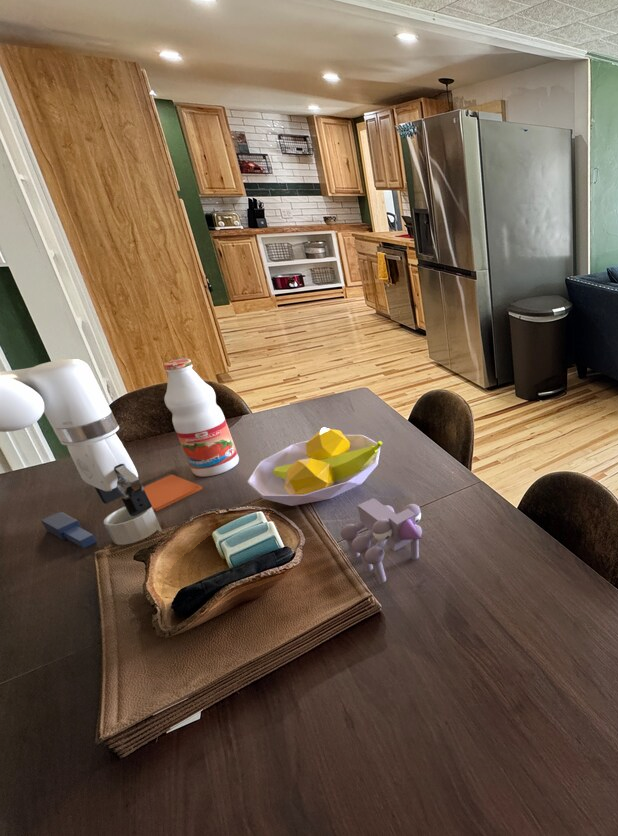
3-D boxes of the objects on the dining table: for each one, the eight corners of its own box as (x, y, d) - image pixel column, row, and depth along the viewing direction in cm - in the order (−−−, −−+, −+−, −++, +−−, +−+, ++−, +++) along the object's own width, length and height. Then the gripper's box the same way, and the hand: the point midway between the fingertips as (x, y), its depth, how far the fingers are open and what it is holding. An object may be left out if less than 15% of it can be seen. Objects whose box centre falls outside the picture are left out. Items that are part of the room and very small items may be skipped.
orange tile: (156, 511, 102) (154, 508, 101) (126, 498, 106) (124, 495, 106) (202, 488, 109) (201, 486, 109) (172, 477, 114) (171, 474, 113)
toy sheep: (455, 573, 85) (445, 511, 80) (401, 612, 77) (386, 547, 72) (394, 528, 96) (382, 472, 91) (341, 558, 88) (325, 498, 83)
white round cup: (127, 554, 90) (115, 529, 87) (109, 544, 92) (96, 519, 90) (169, 532, 96) (158, 507, 93) (150, 523, 98) (139, 499, 96)
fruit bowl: (227, 506, 103) (210, 462, 99) (329, 446, 127) (319, 408, 122) (326, 534, 95) (312, 486, 90) (415, 464, 118) (408, 424, 114)
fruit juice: (241, 453, 124) (205, 352, 113) (238, 470, 116) (199, 364, 105) (196, 463, 119) (154, 359, 108) (190, 482, 112) (144, 372, 101)
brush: (80, 550, 91) (73, 538, 90) (47, 531, 96) (40, 520, 95) (100, 540, 93) (94, 528, 92) (66, 522, 98) (60, 511, 97)
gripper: (35, 428, 85) (80, 505, 91) (84, 447, 78) (127, 529, 85) (90, 410, 91) (127, 484, 98) (139, 427, 84) (175, 505, 91)
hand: (127, 505), depth 91 cm, fingers open, 9 cm apart
